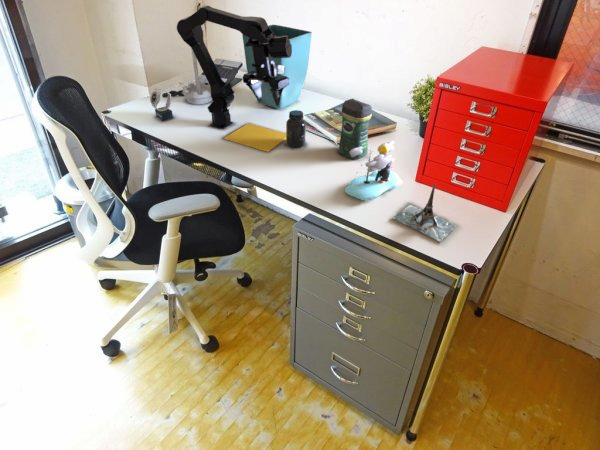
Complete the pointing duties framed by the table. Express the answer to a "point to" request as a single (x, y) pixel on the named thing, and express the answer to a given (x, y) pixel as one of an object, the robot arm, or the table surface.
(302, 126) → the supplement bottle
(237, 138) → the cloth
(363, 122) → the coffee jar
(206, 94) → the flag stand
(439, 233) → the eiffel tower figurine
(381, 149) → the cartoon character figurine
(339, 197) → the table surface
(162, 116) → the watch
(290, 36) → the flower pot
